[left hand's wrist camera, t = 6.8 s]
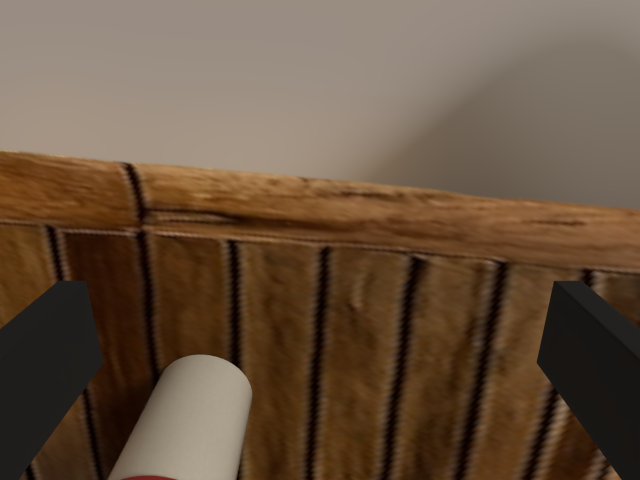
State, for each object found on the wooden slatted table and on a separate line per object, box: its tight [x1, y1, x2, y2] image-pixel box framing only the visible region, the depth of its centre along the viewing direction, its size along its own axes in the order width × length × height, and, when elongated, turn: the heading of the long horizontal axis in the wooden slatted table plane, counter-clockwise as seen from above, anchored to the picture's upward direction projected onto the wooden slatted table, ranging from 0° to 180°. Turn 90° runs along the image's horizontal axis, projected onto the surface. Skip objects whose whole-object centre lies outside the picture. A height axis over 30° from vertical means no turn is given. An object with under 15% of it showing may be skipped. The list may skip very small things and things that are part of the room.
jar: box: [107, 355, 252, 480], centre depth 41 cm, size 10×10×17 cm
